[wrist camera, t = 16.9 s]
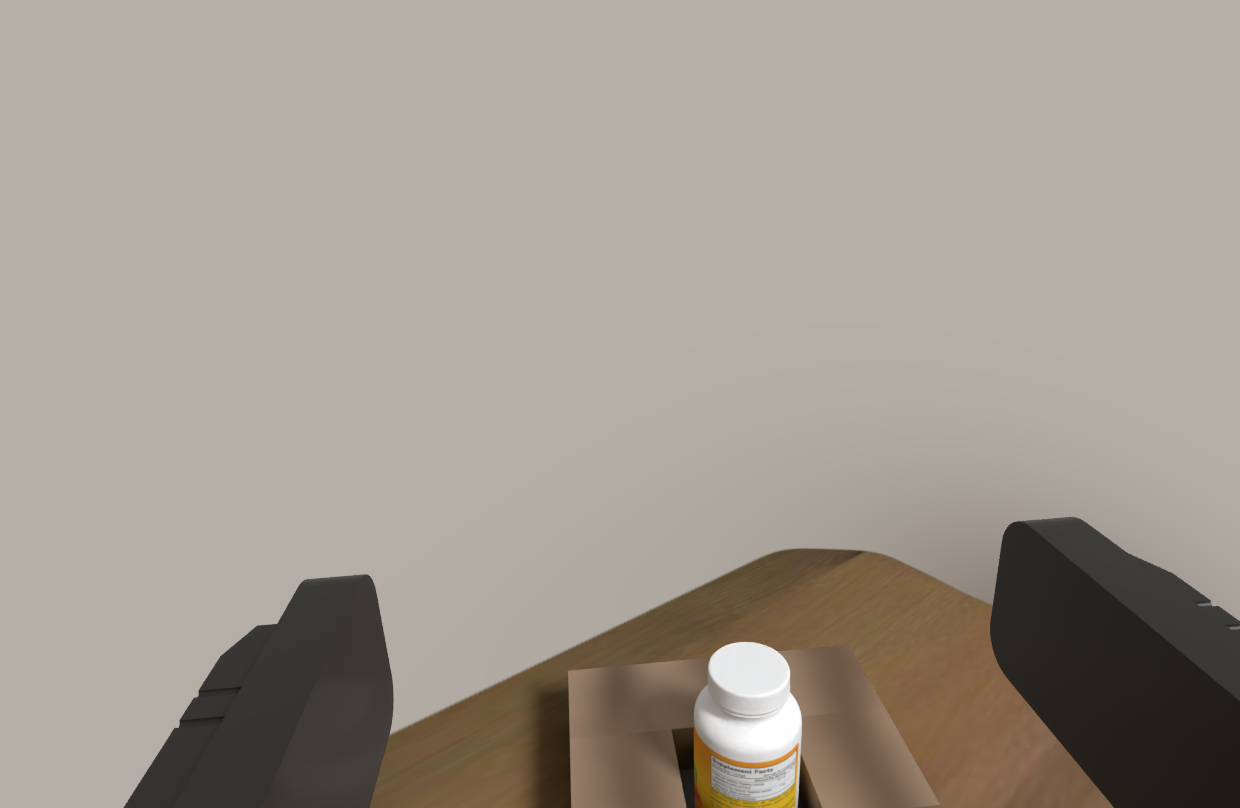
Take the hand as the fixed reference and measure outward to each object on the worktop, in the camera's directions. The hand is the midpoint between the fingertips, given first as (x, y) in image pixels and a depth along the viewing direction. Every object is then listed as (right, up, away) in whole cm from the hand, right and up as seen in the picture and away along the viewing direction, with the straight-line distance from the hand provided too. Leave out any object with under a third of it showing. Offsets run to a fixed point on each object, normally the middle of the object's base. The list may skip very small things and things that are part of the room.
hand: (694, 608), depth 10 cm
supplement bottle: (+6, -20, +31) cm, 37 cm away
